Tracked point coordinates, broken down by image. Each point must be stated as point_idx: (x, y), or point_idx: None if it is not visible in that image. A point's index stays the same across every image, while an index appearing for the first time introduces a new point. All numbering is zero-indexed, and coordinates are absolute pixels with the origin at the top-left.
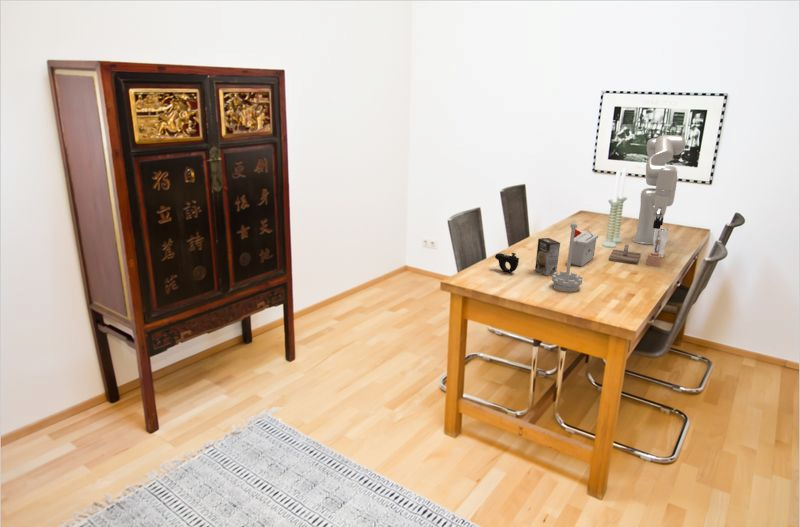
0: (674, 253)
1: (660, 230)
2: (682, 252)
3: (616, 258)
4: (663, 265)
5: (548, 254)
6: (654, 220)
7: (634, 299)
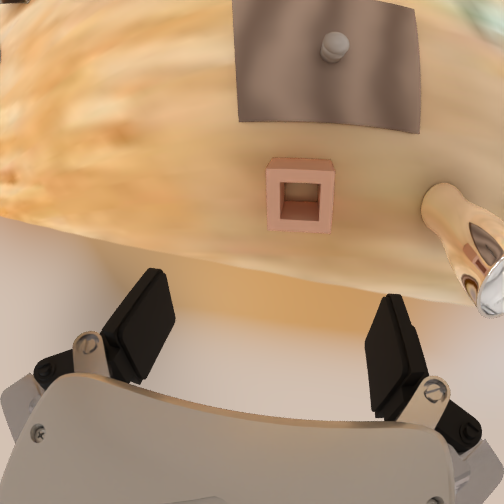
0: None
1: (484, 278)
2: None
3: (241, 25)
4: None
5: None
6: (105, 331)
7: (4, 189)
